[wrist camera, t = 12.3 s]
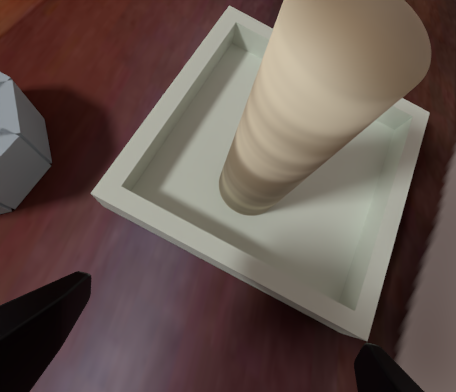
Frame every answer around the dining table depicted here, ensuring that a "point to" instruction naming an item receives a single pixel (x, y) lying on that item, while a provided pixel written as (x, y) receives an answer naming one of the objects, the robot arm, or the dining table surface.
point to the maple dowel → (319, 92)
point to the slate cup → (20, 145)
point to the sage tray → (283, 210)
